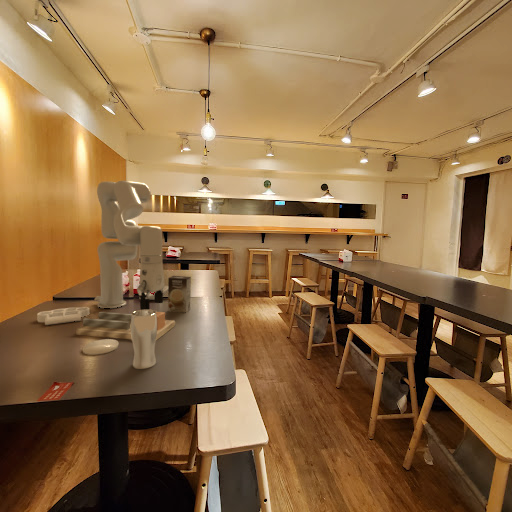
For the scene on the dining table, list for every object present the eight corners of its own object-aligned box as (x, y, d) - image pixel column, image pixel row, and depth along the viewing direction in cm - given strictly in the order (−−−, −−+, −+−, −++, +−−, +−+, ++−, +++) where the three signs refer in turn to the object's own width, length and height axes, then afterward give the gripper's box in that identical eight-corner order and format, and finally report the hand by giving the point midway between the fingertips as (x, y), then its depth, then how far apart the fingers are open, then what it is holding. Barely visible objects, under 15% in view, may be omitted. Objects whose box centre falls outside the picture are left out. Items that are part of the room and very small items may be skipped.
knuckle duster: (34, 328, 102) (39, 317, 114) (90, 321, 112) (89, 312, 124) (34, 320, 102) (38, 310, 114) (90, 313, 112) (88, 304, 124)
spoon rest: (145, 303, 141) (145, 289, 140) (140, 298, 150) (140, 285, 150) (188, 297, 155) (189, 285, 154) (181, 293, 164) (181, 281, 163)
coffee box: (167, 311, 126) (167, 277, 125) (172, 307, 133) (172, 275, 131) (186, 312, 125) (186, 278, 124) (191, 308, 132) (191, 276, 130)
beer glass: (136, 358, 80) (135, 309, 79) (160, 358, 81) (160, 309, 80) (127, 370, 73) (126, 316, 72) (153, 370, 74) (153, 316, 73)
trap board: (76, 334, 97) (75, 322, 96) (106, 320, 113) (106, 309, 112) (154, 341, 93) (154, 328, 92) (175, 325, 108) (175, 314, 108)
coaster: (74, 353, 82) (74, 350, 82) (98, 340, 92) (98, 338, 92) (104, 356, 81) (104, 353, 81) (125, 342, 91) (125, 340, 91)
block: (143, 328, 99) (142, 315, 98) (150, 324, 104) (150, 311, 103) (158, 329, 98) (158, 316, 97) (165, 325, 103) (165, 312, 102)
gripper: (148, 262, 90) (149, 313, 91) (171, 258, 107) (172, 301, 108) (127, 262, 91) (128, 312, 92) (154, 257, 108) (154, 300, 109)
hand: (152, 306), depth 100 cm, fingers open, 9 cm apart
